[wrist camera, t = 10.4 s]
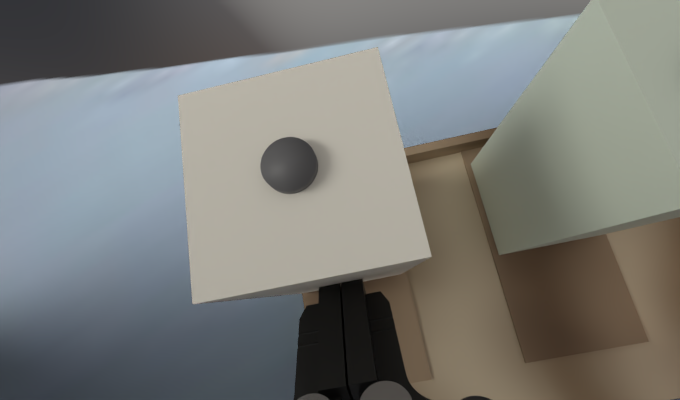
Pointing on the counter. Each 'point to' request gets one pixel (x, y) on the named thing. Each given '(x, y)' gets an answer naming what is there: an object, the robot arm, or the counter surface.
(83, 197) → the counter surface
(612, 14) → the grey green block
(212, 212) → the grey rectangular block
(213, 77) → the counter surface
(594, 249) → the board
